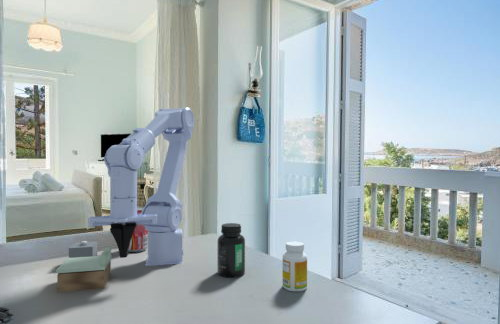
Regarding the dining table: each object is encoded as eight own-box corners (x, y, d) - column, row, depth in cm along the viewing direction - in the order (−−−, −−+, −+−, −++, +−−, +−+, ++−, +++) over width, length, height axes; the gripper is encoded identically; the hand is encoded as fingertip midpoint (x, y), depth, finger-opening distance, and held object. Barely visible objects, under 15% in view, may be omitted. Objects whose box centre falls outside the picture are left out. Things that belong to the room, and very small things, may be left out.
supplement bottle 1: (246, 277, 77) (246, 227, 77) (217, 278, 76) (217, 228, 76) (243, 268, 84) (243, 222, 84) (217, 268, 83) (217, 222, 83)
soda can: (151, 247, 104) (151, 206, 103) (141, 253, 96) (141, 210, 96) (130, 246, 104) (130, 206, 104) (119, 253, 97) (119, 209, 97)
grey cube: (97, 261, 89) (97, 238, 89) (92, 267, 84) (92, 243, 84) (74, 262, 88) (74, 239, 88) (68, 269, 82) (68, 244, 82)
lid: (111, 258, 77) (111, 245, 77) (104, 269, 69) (104, 255, 69) (68, 260, 75) (68, 248, 75) (55, 273, 67) (55, 258, 67)
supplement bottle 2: (308, 284, 73) (309, 241, 73) (304, 293, 68) (305, 247, 68) (285, 281, 75) (285, 239, 75) (279, 290, 70) (280, 245, 70)
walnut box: (110, 277, 77) (110, 259, 77) (104, 290, 69) (104, 270, 69) (68, 280, 75) (68, 262, 75) (57, 294, 67) (57, 274, 67)
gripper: (84, 200, 68) (84, 264, 68) (156, 198, 72) (156, 259, 72) (92, 196, 75) (92, 254, 75) (157, 194, 79) (157, 250, 79)
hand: (123, 256), depth 74 cm, fingers closed
